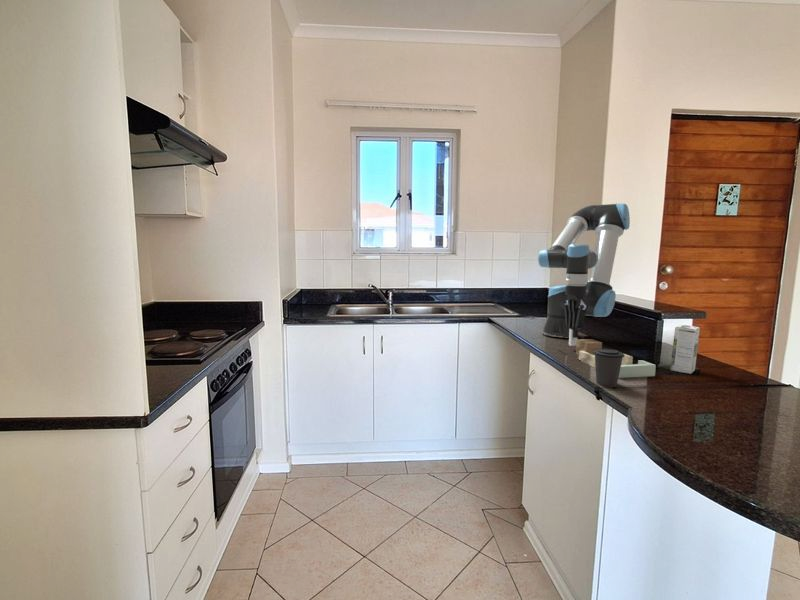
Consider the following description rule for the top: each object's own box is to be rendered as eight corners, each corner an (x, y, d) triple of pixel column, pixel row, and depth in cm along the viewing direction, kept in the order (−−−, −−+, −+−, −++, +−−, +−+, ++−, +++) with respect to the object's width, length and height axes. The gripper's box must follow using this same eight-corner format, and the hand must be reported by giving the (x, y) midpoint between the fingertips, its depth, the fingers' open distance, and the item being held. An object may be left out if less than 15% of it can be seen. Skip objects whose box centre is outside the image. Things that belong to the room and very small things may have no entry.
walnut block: (575, 355, 147) (576, 339, 147) (590, 354, 148) (591, 339, 148) (585, 359, 142) (586, 343, 141) (601, 359, 142) (602, 342, 142)
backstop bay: (604, 372, 126) (605, 361, 126) (641, 370, 128) (642, 360, 128) (616, 377, 121) (617, 366, 120) (654, 376, 123) (655, 365, 122)
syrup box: (674, 366, 132) (678, 324, 131) (696, 370, 128) (700, 326, 126) (670, 370, 128) (674, 326, 127) (692, 374, 124) (696, 329, 122)
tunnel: (578, 360, 140) (578, 350, 140) (611, 359, 142) (612, 349, 142) (596, 368, 130) (597, 358, 130) (632, 367, 132) (632, 356, 132)
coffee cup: (629, 387, 112) (631, 353, 111) (603, 389, 111) (605, 354, 110) (609, 378, 120) (611, 346, 119) (585, 379, 119) (587, 347, 118)
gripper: (557, 283, 157) (554, 341, 160) (577, 286, 145) (573, 349, 147) (575, 283, 159) (572, 341, 161) (596, 286, 146) (592, 349, 149)
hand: (572, 345), depth 154 cm, fingers closed
